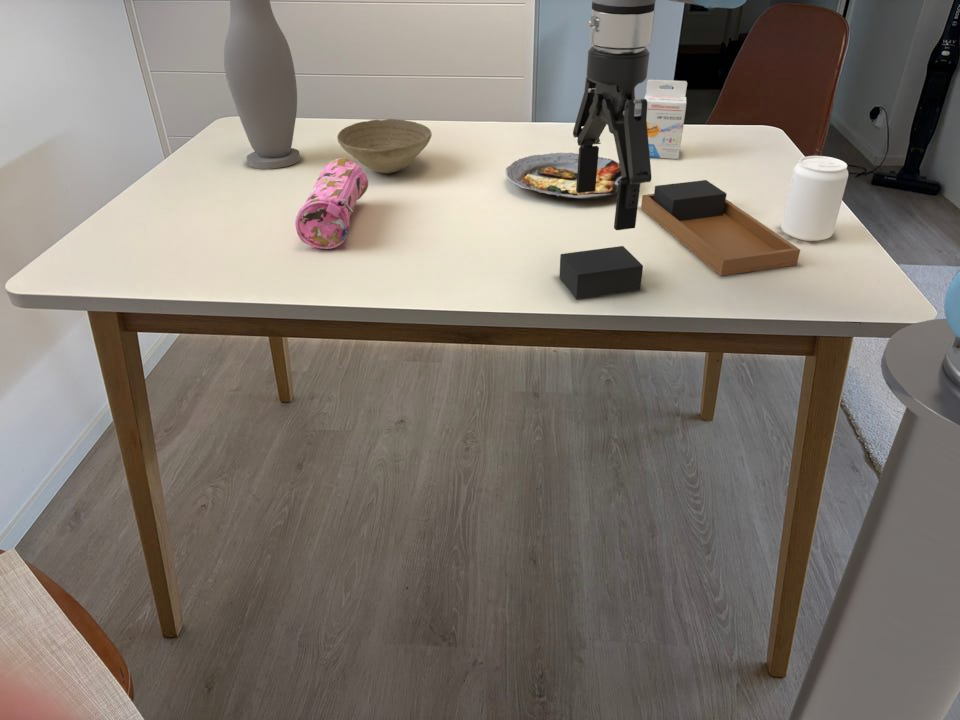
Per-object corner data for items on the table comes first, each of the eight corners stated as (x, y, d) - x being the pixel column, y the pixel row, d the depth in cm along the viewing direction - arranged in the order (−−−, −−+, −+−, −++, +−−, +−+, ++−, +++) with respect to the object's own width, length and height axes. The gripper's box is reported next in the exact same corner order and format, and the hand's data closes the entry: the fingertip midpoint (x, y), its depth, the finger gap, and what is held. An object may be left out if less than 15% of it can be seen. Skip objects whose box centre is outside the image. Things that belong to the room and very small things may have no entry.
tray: (797, 265, 116) (800, 249, 114) (720, 276, 113) (723, 260, 112) (706, 200, 138) (708, 187, 137) (640, 208, 135) (642, 194, 134)
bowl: (415, 190, 144) (412, 149, 140) (326, 182, 148) (321, 142, 144) (444, 159, 159) (442, 121, 154) (363, 153, 163) (359, 116, 159)
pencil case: (354, 252, 122) (348, 200, 117) (296, 252, 122) (288, 200, 117) (371, 202, 139) (367, 155, 134) (322, 202, 140) (315, 155, 135)
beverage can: (774, 223, 129) (789, 154, 122) (822, 223, 129) (839, 154, 122) (788, 243, 122) (805, 171, 116) (839, 243, 122) (858, 171, 115)
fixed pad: (723, 215, 131) (726, 193, 129) (670, 222, 129) (673, 199, 126) (702, 201, 136) (706, 179, 134) (652, 207, 134) (654, 185, 132)
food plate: (651, 175, 150) (653, 157, 148) (613, 216, 133) (615, 197, 131) (536, 157, 159) (536, 140, 157) (486, 193, 142) (486, 175, 140)
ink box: (637, 157, 159) (645, 84, 151) (638, 149, 163) (646, 79, 155) (679, 159, 157) (689, 86, 149) (678, 152, 161) (688, 80, 153)
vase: (247, 175, 152) (211, -17, 133) (237, 156, 162) (203, -25, 143) (312, 166, 156) (286, -22, 137) (298, 148, 166) (273, -29, 147)
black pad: (640, 290, 110) (643, 265, 107) (576, 299, 108) (577, 274, 105) (620, 269, 115) (623, 245, 113) (559, 278, 113) (560, 253, 111)
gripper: (555, 29, 102) (548, 180, 114) (634, 72, 82) (615, 249, 94) (606, 26, 104) (594, 175, 116) (696, 67, 84) (670, 242, 96)
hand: (604, 209), depth 105 cm, fingers open, 13 cm apart
